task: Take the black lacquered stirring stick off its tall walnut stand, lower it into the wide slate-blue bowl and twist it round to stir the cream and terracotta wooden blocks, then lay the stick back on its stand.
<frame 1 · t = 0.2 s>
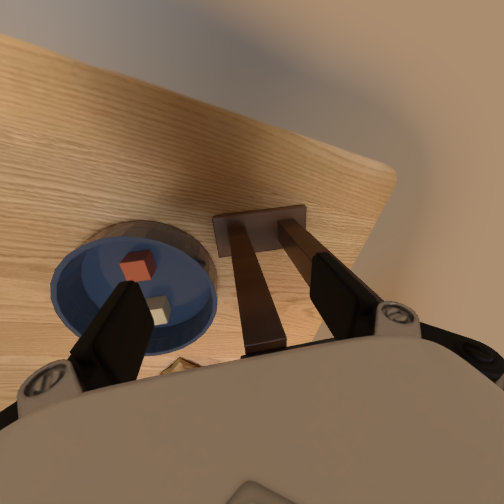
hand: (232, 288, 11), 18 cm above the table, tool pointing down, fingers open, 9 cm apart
stick stand: (260, 229, 30), on the table
shard: (191, 367, 41), on the table
cream block: (159, 303, 32), point 1 cm above the table, touching bowl
bowl: (152, 281, 31), on the table
stirring stick: (323, 347, 12), point 20 cm above the table, touching stick stand
terracotta block: (142, 260, 28), point 1 cm above the table, touching bowl
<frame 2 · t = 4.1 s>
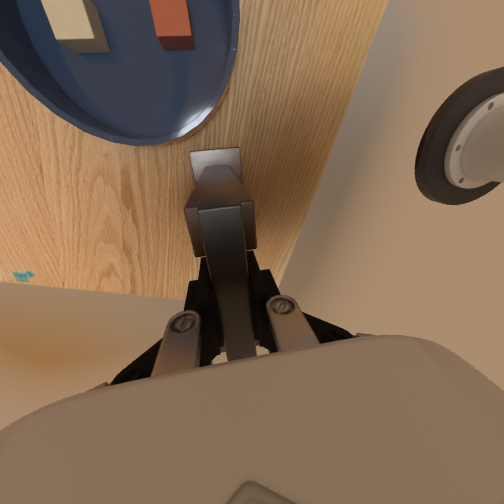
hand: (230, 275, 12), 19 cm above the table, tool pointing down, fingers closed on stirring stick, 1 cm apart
stick stand: (222, 201, 28), on the table
cream block: (87, 31, 19), point 1 cm above the table, touching bowl
bowl: (134, 33, 20), on the table
stirring stick: (232, 291, 11), point 20 cm above the table, touching gripper, stick stand
terracotta block: (175, 29, 20), point 1 cm above the table, touching bowl
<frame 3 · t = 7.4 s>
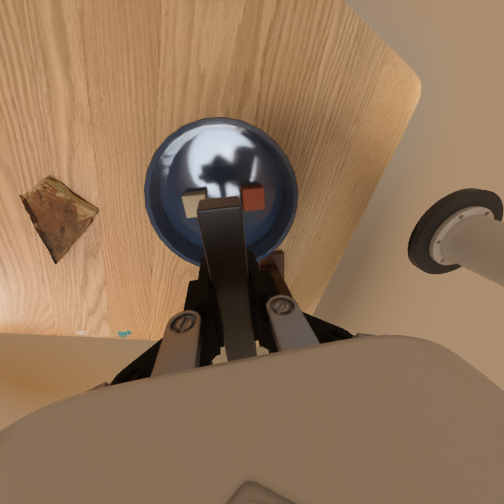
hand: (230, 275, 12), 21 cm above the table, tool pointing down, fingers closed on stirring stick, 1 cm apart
stick stand: (267, 281, 39), on the table
shard: (73, 220, 29), on the table
cream block: (197, 201, 30), point 1 cm above the table, touching bowl
bowl: (224, 197, 31), on the table
stirring stick: (232, 291, 11), point 23 cm above the table, touching gripper
terracotta block: (250, 195, 31), point 1 cm above the table, touching bowl
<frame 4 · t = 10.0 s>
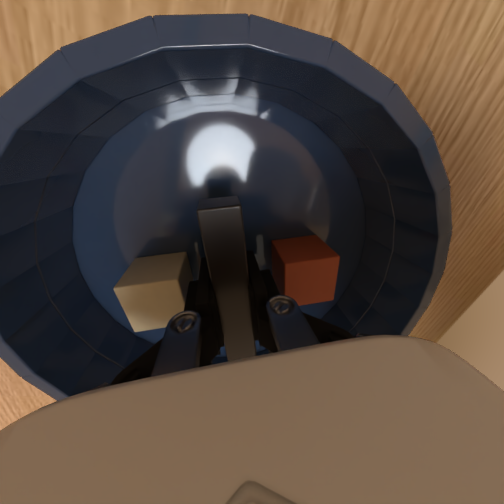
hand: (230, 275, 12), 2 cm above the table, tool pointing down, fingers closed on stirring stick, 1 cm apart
cream block: (167, 274, 13), point 1 cm above the table, touching bowl
bowl: (233, 261, 14), on the table
stirring stick: (232, 291, 11), point 3 cm above the table, touching gripper
terracotta block: (293, 257, 14), point 1 cm above the table, touching bowl
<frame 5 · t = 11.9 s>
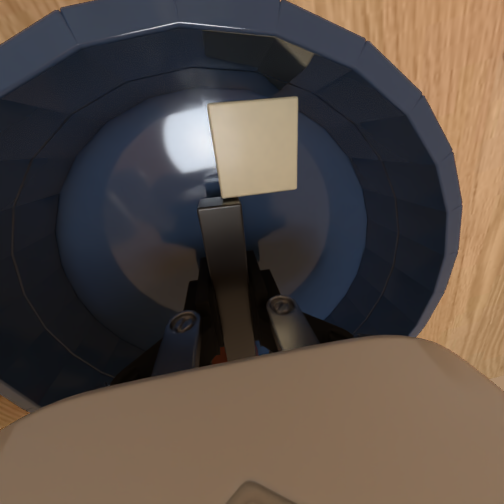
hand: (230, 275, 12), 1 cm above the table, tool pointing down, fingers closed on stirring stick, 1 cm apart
cream block: (246, 150, 10), point 1 cm above the table, touching bowl
bowl: (229, 264, 13), on the table
stirring stick: (232, 290, 11), point 3 cm above the table, touching gripper
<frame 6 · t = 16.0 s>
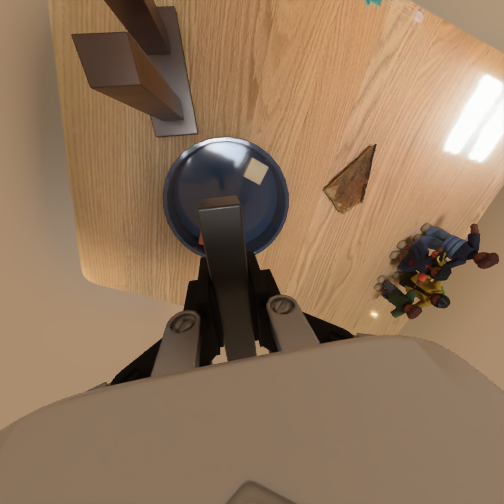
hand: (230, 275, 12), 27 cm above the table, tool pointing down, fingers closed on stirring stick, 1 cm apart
doll family: (402, 258, 49), on the table
stick stand: (166, 80, 28), on the table
shard: (343, 180, 38), on the table
cream block: (253, 169, 34), point 1 cm above the table, touching bowl
bowl: (227, 199, 36), on the table
stirring stick: (232, 291, 11), point 28 cm above the table, touching gripper
terracotta block: (209, 232, 38), point 1 cm above the table, touching bowl
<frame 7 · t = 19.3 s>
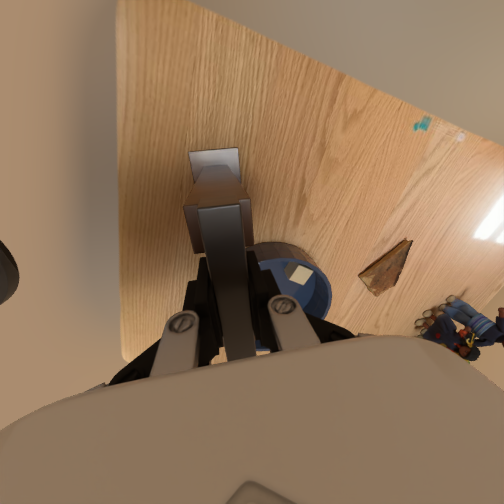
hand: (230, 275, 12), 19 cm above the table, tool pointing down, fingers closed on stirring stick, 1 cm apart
doll family: (426, 323, 51), on the table
stick stand: (220, 200, 29), on the table
shard: (377, 266, 39), on the table
cream block: (295, 265, 35), point 1 cm above the table, touching bowl
bowl: (267, 289, 37), on the table
stirring stick: (232, 290, 11), point 20 cm above the table, touching gripper
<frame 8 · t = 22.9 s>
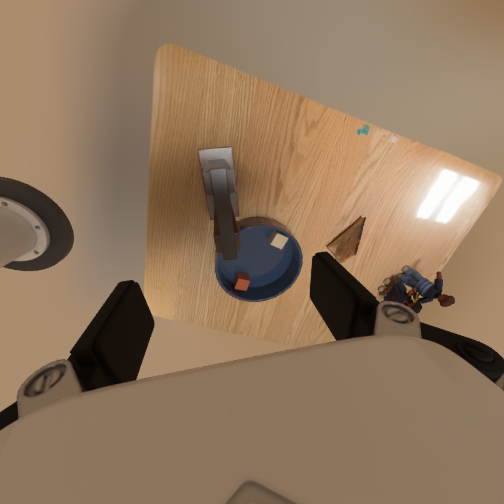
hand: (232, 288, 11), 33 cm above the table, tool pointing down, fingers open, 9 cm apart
doll family: (388, 290, 62), on the table
stick stand: (220, 184, 40), on the table
shard: (341, 239, 51), on the table
cream block: (276, 236, 47), point 1 cm above the table, touching bowl
bowl: (255, 255, 49), on the table
stirring stick: (224, 215, 23), point 20 cm above the table, touching stick stand
terracotta block: (241, 277, 50), point 1 cm above the table, touching bowl
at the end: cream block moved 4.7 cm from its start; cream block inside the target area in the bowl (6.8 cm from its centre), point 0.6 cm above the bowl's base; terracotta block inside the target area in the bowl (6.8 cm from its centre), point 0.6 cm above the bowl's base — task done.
